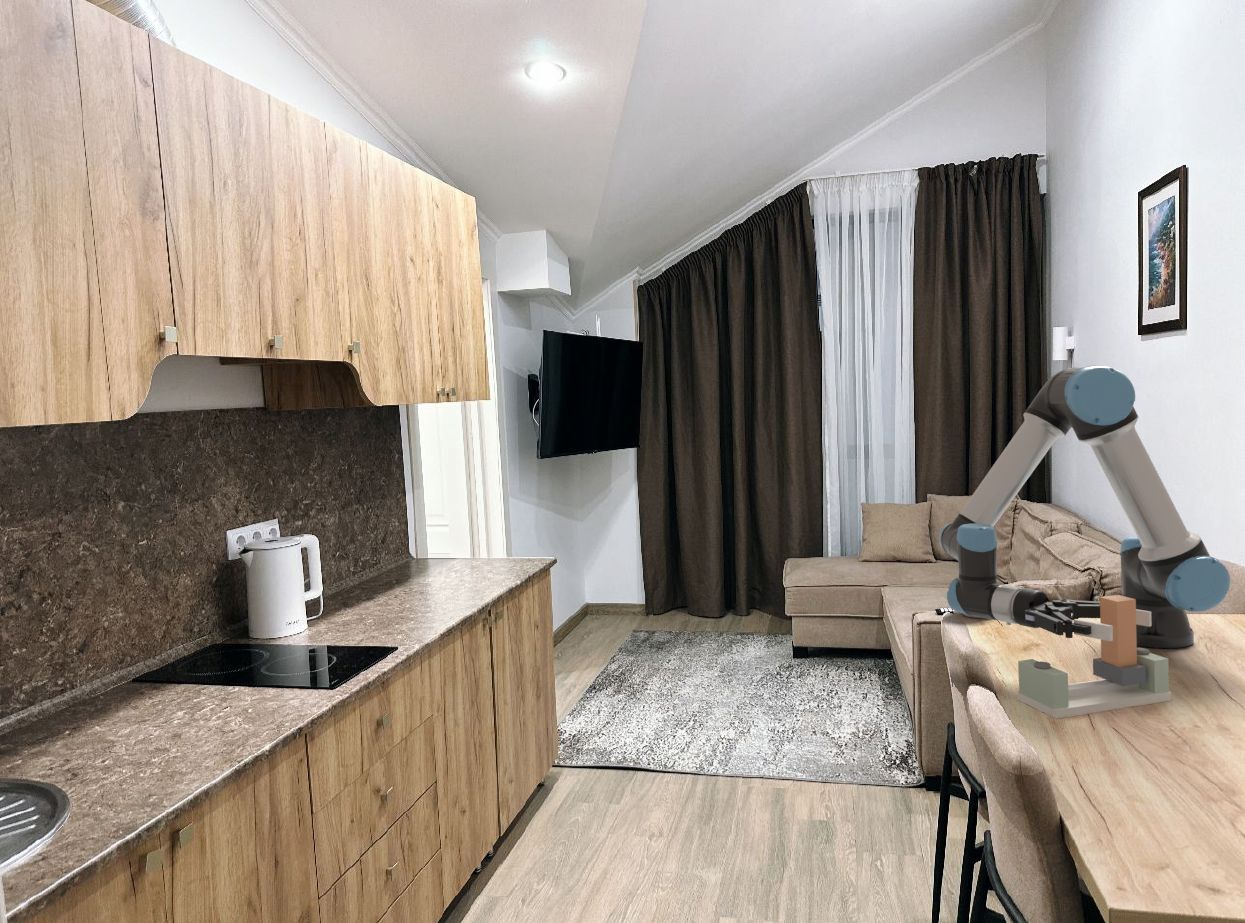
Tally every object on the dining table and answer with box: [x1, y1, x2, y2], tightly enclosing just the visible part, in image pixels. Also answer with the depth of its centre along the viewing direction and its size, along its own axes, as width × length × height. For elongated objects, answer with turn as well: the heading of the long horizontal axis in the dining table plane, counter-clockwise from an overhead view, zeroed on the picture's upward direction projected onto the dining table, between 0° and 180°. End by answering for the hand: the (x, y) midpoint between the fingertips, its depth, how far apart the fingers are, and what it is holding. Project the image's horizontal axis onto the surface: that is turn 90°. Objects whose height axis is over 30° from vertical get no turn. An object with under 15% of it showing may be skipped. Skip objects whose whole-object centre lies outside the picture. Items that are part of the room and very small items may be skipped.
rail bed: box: [1016, 678, 1172, 720], centre depth 155 cm, size 24×10×3 cm, turn 103°
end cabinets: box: [1017, 647, 1170, 709], centre depth 155 cm, size 24×9×7 cm, turn 102°
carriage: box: [1092, 594, 1146, 686], centre depth 156 cm, size 5×7×15 cm
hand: (1131, 626), depth 153 cm, fingers open, 13 cm apart
